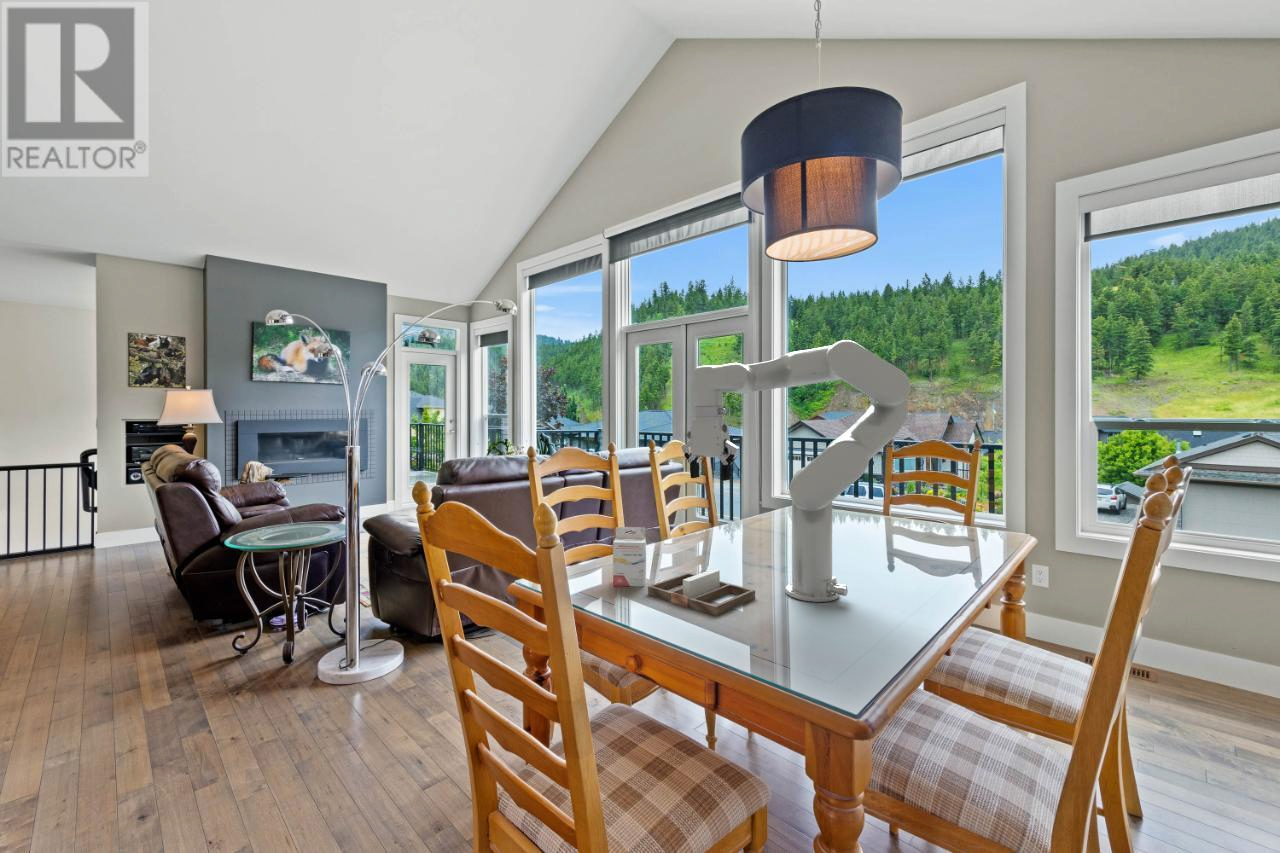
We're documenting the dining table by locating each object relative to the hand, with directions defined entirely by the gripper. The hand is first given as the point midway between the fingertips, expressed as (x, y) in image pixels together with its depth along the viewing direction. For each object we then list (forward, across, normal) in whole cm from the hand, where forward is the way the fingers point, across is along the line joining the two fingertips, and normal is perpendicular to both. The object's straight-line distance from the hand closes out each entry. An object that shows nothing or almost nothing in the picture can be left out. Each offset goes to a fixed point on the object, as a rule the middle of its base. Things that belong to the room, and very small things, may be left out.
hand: (710, 478), depth 144 cm
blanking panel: (+28, -3, +9) cm, 29 cm away
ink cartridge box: (+28, +17, +13) cm, 35 cm away
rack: (+28, -3, +9) cm, 29 cm away
